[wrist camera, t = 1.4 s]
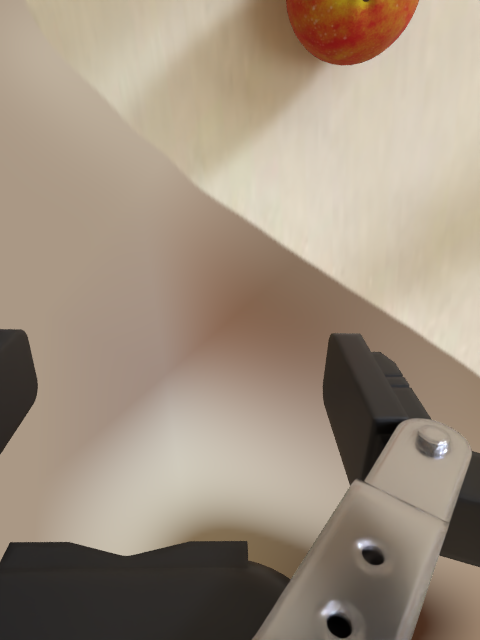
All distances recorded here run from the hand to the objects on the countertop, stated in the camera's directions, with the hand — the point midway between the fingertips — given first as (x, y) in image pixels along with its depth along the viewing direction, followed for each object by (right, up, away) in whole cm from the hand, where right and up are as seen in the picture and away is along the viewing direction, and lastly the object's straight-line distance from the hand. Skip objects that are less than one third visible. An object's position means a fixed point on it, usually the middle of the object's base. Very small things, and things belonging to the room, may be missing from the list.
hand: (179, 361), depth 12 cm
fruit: (+8, +21, +14) cm, 26 cm away
